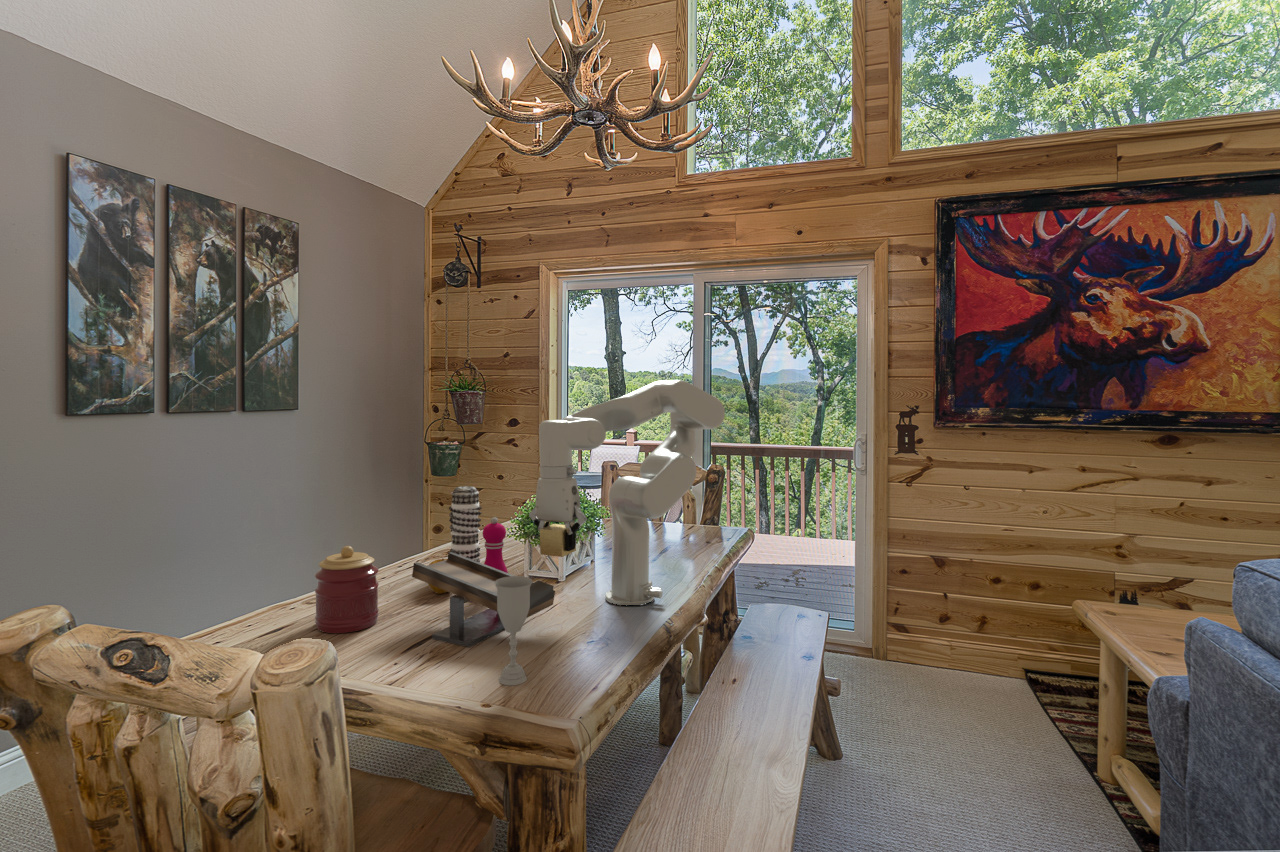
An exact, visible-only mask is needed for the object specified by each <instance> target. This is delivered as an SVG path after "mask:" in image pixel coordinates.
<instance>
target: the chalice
mask: <svg viewBox="0 0 1280 852" xmlns="http://www.w3.org/2000/svg"><path fill="white" fill-rule="evenodd" d="M532 582H533V583H534V581H533V579H532V578H531V577H528V576H522V575H514V576H509V577H503V578H500V579H498V580H496V581H495V585H496V587H497V611H498V614H499V617H500V620H501V622H502V624H503V626H504V628H505V629H504V631H506V633H510V639H509V642H508V644H509V646H510V650H509V651H508V653H507V654H508V655H509V657H510V662H509V663H508V664H507V665H505V666H504V667H503V669H502V672H501V673H500V677H499V679H498V682H499V683H500V684H501V685H505V686H518V685H521V684H524V683H525V682H526V681H527V679H528V678H527V677H528V676H527V675H526V673H525V670H524V667H523V666H522V665H521V664H519V663H518V662H517V661H516V658H517V655H518V654H519V652H518V651H517V649H516V648H517V644H518V643H519V642H518V641H517V637H516V636H517V633H518V632H520V631H521V630H522V629H523V626H524V624H525V622H526V619H528V618H527V614H528V611H529V608H530V586H531V584H532Z"/></svg>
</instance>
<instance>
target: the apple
mask: <svg viewBox="0 0 1280 852" xmlns="http://www.w3.org/2000/svg"><path fill="white" fill-rule="evenodd" d="M447 559H448V558H438V559H434V560H433V561H432V562H430V563H428V565H431V564H434V563H437V562H440V561H443V560H447ZM427 585H428V586H429V587H430V589H431V590H432V591H433V592H434V593H436V594H439V595H440V594H441V595H442V594H445V593H447V592H448V591H445V590H443V589H440V588H438V587H436V586H433V585H431V584H428V583H427ZM448 593H449V592H448Z"/></svg>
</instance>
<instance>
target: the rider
mask: <svg viewBox="0 0 1280 852" xmlns="http://www.w3.org/2000/svg"><path fill="white" fill-rule="evenodd" d="M566 534H568V533H567V530H566V527H565V525H564V524H559V523H552V524H550V525H549V526H547V527H544V528H541V529H540V531H539V543H540V544H539V547H540V548H539V549H540V550H539V551H540V552H539V553H540V555H543V556H550V557H551V556H552V557H557V558H564V557H565V556H567V555H570V554H572V553H574V552H576V551H577V548H576V547H577V545H576V546H575V549H573V550H571V551H566V539H565V536H566Z"/></svg>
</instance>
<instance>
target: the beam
mask: <svg viewBox="0 0 1280 852" xmlns="http://www.w3.org/2000/svg"><path fill="white" fill-rule="evenodd" d="M447 554H448V555H447V558H446V559H447V560H443V561H440V562H437V563H434V564H431V565H429V564H427V565H425V564H423V563H420V562H418V561H416V562H413V567H412V575H411V577H412V578H415V579H417V580H419V581H422V582H423V583H426V584H427V585H428V584H431V585H433V586H436V587H438V588H440V589H443V590H445V591H448V593H451V594H453V595H458V596H463V597H464V604H467V603H469V602H473V603H475V604H478V605H480V606H482V607H484V608H487V609H492V610H494V611H496V612H498V611H497V587H496V585H495V581H496V580H498V579H500V578H503V577H509V576H515V575H514V574H511V573H509V572H508V573H506V572H503V571H501V570H498V569H495V568H493V567H490V566H487V565H485V564H484V563H482V562H480V563H479V562H477V561H474V560H471V559H469V558H466V557H463V556H461V555H458V554H455V553H453V552H451V551H449V552H448V553H447ZM555 595H556V591H555V590H554V585H553V584H549V583H547V582H544V581H542V580H536V581H533V582H532V584H531V586H530V608H529V611H528V614H527V618H526V619H528V618H530V617H532V616H534V615H536V614H537V613H540V612H542V611H544V610H545V609H547V608H549V607H551V606H553V605H554V601H555Z"/></svg>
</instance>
